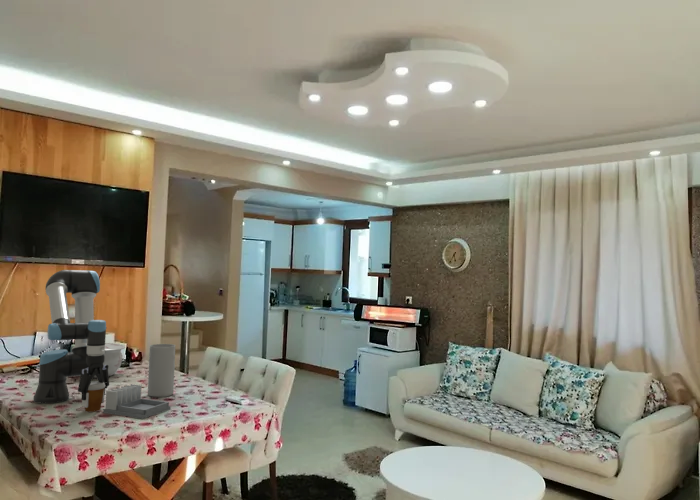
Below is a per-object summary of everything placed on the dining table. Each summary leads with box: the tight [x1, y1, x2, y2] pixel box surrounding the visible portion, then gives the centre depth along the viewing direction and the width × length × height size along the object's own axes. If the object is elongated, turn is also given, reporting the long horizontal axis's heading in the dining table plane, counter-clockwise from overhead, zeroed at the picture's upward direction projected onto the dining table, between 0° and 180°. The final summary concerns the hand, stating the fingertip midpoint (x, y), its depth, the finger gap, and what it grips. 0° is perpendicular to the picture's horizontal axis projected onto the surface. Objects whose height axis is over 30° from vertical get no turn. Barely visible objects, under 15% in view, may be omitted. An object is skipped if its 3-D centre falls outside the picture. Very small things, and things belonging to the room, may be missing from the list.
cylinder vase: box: [147, 343, 176, 398], centre depth 278 cm, size 12×12×25 cm
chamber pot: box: [90, 342, 126, 379], centre depth 320 cm, size 28×28×21 cm
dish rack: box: [102, 383, 171, 420], centre depth 246 cm, size 22×18×10 cm
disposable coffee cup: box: [84, 380, 106, 413], centre depth 245 cm, size 10×10×12 cm
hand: (93, 404), depth 245 cm, fingers closed on disposable coffee cup, 8 cm apart
